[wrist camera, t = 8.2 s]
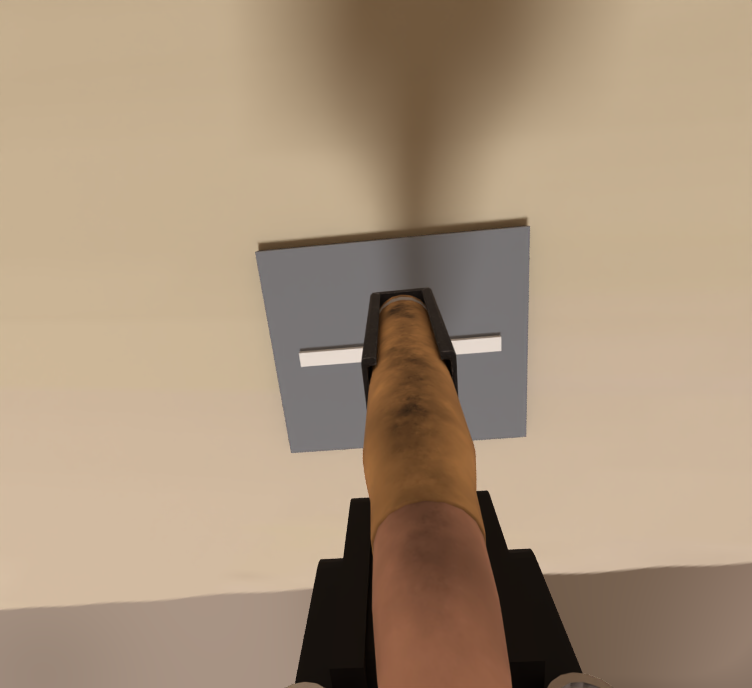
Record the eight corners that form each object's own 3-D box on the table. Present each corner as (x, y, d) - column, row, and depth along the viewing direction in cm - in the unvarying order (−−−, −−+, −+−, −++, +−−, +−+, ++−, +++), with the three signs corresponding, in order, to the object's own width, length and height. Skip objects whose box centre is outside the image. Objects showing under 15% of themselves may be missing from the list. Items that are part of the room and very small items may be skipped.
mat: (526, 225, 22) (531, 226, 21) (523, 431, 26) (527, 439, 25) (258, 250, 23) (253, 252, 22) (293, 447, 27) (290, 455, 26)
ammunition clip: (449, 565, 16) (584, 1399, 5) (400, 567, 16) (423, 1388, 5) (431, 286, 13) (724, 910, 2) (370, 292, 13) (243, 914, 2)
